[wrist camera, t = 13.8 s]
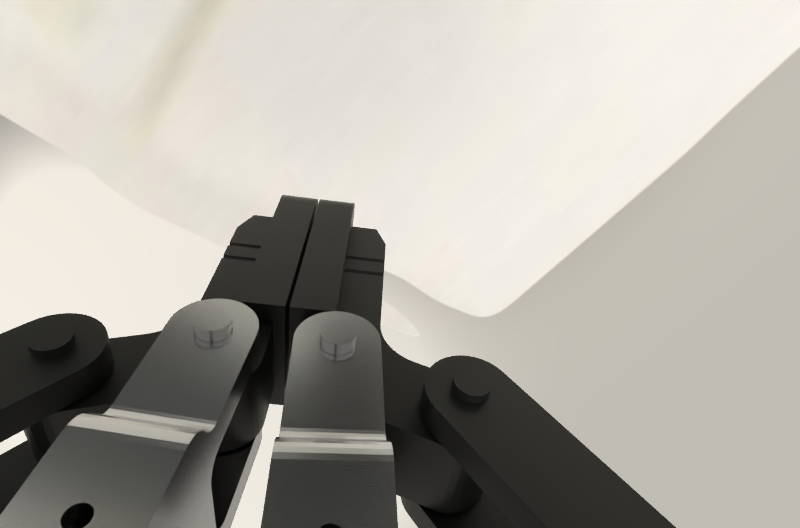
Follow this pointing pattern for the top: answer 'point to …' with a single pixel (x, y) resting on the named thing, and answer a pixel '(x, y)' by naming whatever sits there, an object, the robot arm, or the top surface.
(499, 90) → the top surface
